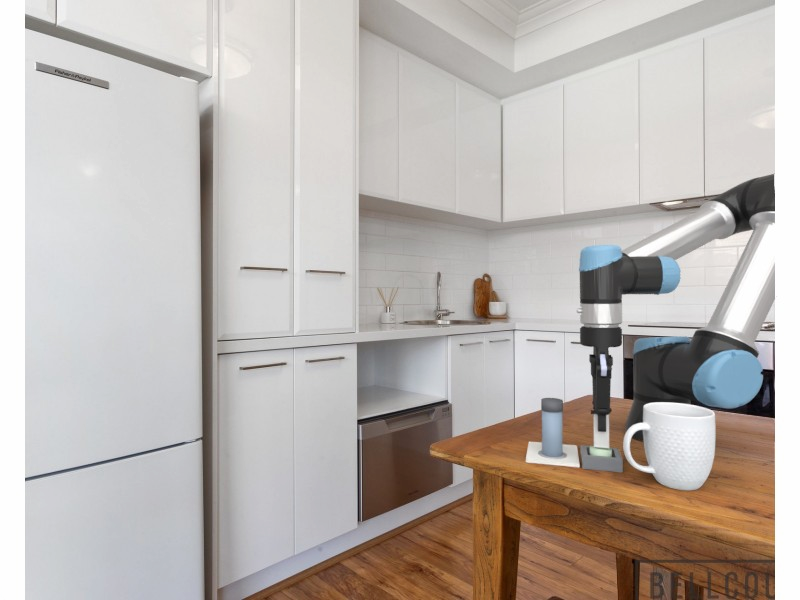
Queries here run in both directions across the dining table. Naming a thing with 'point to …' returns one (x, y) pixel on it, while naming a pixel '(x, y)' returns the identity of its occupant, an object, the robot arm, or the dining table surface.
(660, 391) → the robot arm
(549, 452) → the capped blue-grey cylinder
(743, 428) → the dining table surface
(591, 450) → the button
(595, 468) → the button housing
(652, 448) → the mug
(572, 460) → the white flat plate
